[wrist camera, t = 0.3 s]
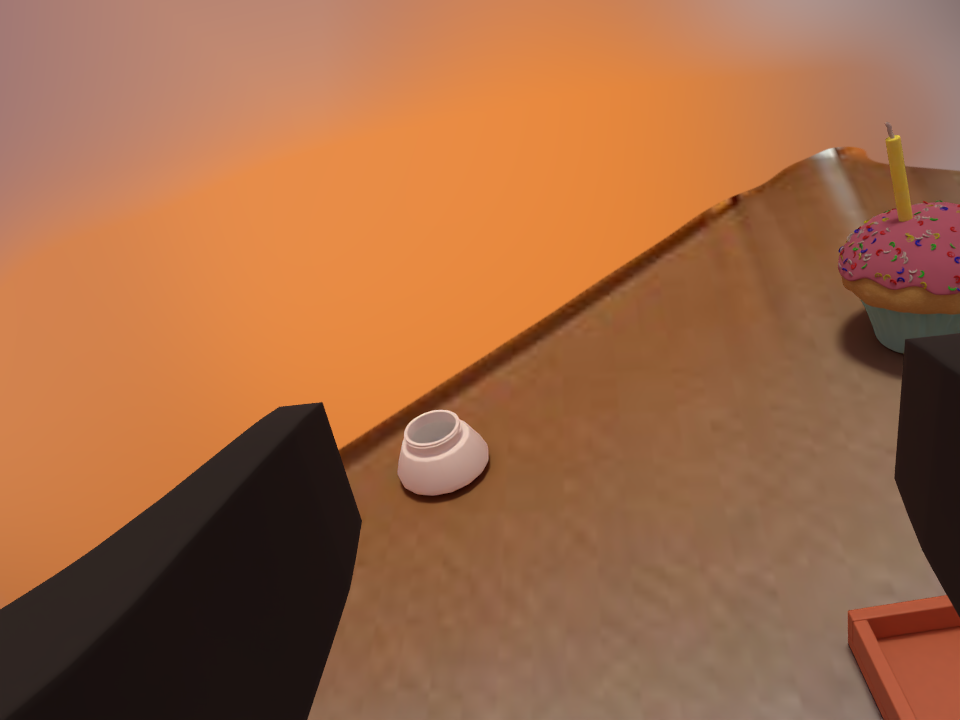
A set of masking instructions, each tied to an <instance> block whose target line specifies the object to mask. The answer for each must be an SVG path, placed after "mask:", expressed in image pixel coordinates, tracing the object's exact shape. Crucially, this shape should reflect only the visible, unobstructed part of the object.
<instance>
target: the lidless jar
mask: <svg viewBox="0 0 960 720" xmlns="http://www.w3.org/2000/svg"><path fill="white" fill-rule="evenodd" d="M488 461H489V455H488V446H487V443H486V442H485V441H484V440H483V438H482V437H481V436H480V435H479V434H478V433H477V432H476V431H475V430H474V429H472V428H471V427H470V426H469V425H468V424H467V423H466V422H465V421H462V420H460V419H459V418H458V416H457V415H456V414H455V413H453V412H451V411H447V410H435V411H430V412H427V413H424V414H422V415H420V416H418V417H416V418H415V419H413V420H412V421H411V422H410V423H409V424H408V426H407V427H406V429H405V432H404V440H403V442H402V447H401V452H400V457H399V464H398V472H397V473H398V476H399V478H400V480H401V482H402V484H403V485H404V487H405V488H406V489H408V490H410V491H412V492H414V493H416V494H421V495H431V496H434V495H440V494H445V493H450V492H453V491H455V490H457V489H459V488H462V487H464V486H466V485H468V484H470V483H471V482H472V481H473V480H474V479H475V478H476V477H478V476H479V475H480V474H481V473H482V472H483V470H484V468H485V466H486V464H487V462H488Z"/></svg>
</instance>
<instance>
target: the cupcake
mask: <svg viewBox="0 0 960 720" xmlns="http://www.w3.org/2000/svg"><path fill="white" fill-rule="evenodd" d="M885 125H886V126H887V131H888V134H889V137H888V138H887V139H886V147H887V153H888V159H889V165H890V171H891V177H892V183H893V189H894V195H895V201H896V207H897V209H892V210H891V211H890V210H888V211H886V212H884V213H882V214H880V215H877V216H874V217H873V218H872V219H871V220H866V221H864V223H866V224H865V225H863V226H862V227H861V226H860V227H859V228H858V229H857V230H855V231H854V232H855V233H854V234H853V233H851V234H850V235H849V236H848V237H847V241H846V243H845V245H844V247H841V248H840V249H839V252H840V256H839V262H838V269H839V272H840V274H841V276H842V282H843V285H844V286H845V288H847V289H848V290H850V291H852V292H853V293H854V294H855V295H856V296H857V297H859V298H860V299H861V301H862V303H863V305H864V307H865V309H866V311H867V313H868V316H869V318H870V321H871V323H872V326H873V329H874V332H875V335H876V337H877V339H878V340H879V341H880V343H882V344H883V345H884V346H886V347H887V348H889V349H891V350H893V351H896V352H899V353H902V354H904V348H905V339H910V338H920V337H929V336H938V335H947V334H957V333H960V205H958V204H953V203H947V202H942V201H936V202H935V203H927V202H925V201H923V202H924V204H921V203H919V204H914V205H911V202H910V196H909V189H908V183H907V177H906V170H905V164H904V158H903V151H902V145H901V139H900V136H897V135H895V136H894V134H893V132H892V127H891V124H890V123H889V122H886V123H885Z"/></svg>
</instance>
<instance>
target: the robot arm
mask: <svg viewBox="0 0 960 720" xmlns="http://www.w3.org/2000/svg"><path fill="white" fill-rule="evenodd" d="M895 481H896V484H897V486H898V489H899V492H900V494H901V497H902V500H903V503H904V505H905V508H906V511H907V513H908V516H909V519H910V521H911V523H912V526H913V528H914V531H915V533H916V536H917V538H918V541H919V543H920V546H921V548H922V551H923V552H924V554H925V556H926V558H927V560H928V562H929V564H930V565H931V567H932V569H933V571H934V573H935V574H936V576H937V578H938V580H939V582H940V583H941V585H942V587H943V589H944V591H945V592H946V594H947V596H948V598H949V600H950V601H951V603H952V605H953V607H954V609H955V610H956V612H957V614H958V616H959V617H960V333H957V334H947V335H938V336H929V337H920V338H910V339H905V348H904V361H903V374H902V387H901V400H900V413H899V426H898V439H897V452H896V465H895ZM361 523H362V520H361V517H360V514H359V511H358V508H357V505H356V502H355V499H354V496H353V493H352V490H351V487H350V484H349V481H348V478H347V475H346V472H345V469H344V466H343V463H342V460H341V457H340V454H339V451H338V448H337V445H336V442H335V439H334V436H333V433H332V430H331V427H330V424H329V421H328V418H327V415H326V412H325V409H324V406H323V403H322V402H321V403H312V404H302V405H293V406H283V407H279V408H277V409H276V410H274V411H272V412H271V413H269V414H268V415H266V416H265V417H263V418H262V419H261V420H259V421H258V422H257V423H255V424H254V425H253V426H251V427H250V428H249V429H247V430H246V431H245V432H244V433H243V434H241V435H240V436H239V437H237V438H236V439H235V440H233V441H232V442H231V443H230V444H228V445H227V446H226V447H225V448H224V449H222V450H221V451H220V452H219V453H217V454H216V455H215V456H214V457H213V458H211V459H210V460H209V461H207V462H206V463H205V464H204V465H202V466H201V467H200V468H199V469H197V470H196V471H195V472H194V473H192V474H191V475H190V476H189V477H187V478H186V479H185V480H184V481H182V482H181V483H180V484H179V485H177V486H176V487H175V488H174V489H173V490H172V491H170V492H169V493H167V494H166V495H165V496H164V497H162V498H161V499H160V500H159V501H157V502H156V503H154V504H153V505H152V506H150V507H149V508H148V509H146V510H145V511H144V512H142V513H141V514H140V515H138V516H137V517H136V518H134V519H133V520H132V521H130V522H129V523H128V524H126V525H125V526H124V527H122V528H121V529H120V530H118V531H117V532H116V533H114V534H113V535H112V536H110V537H109V538H108V539H106V540H105V541H103V542H102V543H101V544H100V545H98V546H97V547H95V548H94V549H93V550H91V551H90V552H88V553H87V554H85V555H84V556H82V557H81V558H80V559H78V560H77V561H75V562H74V563H72V564H71V565H69V566H68V567H66V568H65V569H63V570H62V571H60V572H59V573H57V574H56V575H54V576H53V577H51V578H50V579H48V580H47V581H45V582H43V583H42V584H40V585H39V586H37V587H35V588H34V589H32V590H31V591H29V592H28V593H26V594H24V595H23V596H21V597H20V598H18V599H16V600H15V601H13V602H12V603H10V604H8V605H7V606H5V607H3V608H2V609H0V720H307V719H308V715H309V712H310V709H311V706H312V703H313V700H314V697H315V694H316V691H317V688H318V685H319V682H320V679H321V676H322V673H323V670H324V667H325V664H326V661H327V658H328V655H329V652H330V649H331V646H332V643H333V640H334V637H335V634H336V631H337V628H338V625H339V622H340V618H341V615H342V612H343V609H344V606H345V603H346V600H347V596H348V593H349V590H350V586H351V580H352V575H353V570H354V565H355V560H356V554H357V548H358V542H359V536H360V529H361Z"/></svg>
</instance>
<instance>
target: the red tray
mask: <svg viewBox="0 0 960 720" xmlns="http://www.w3.org/2000/svg"><path fill="white" fill-rule="evenodd" d="M848 643H849V646H850V648H851V650H852V652H853V654H854V656H855V658H856V661H857V663H858V665H859V667H860V669H861V671H862V674H863V676H864V678H865V680H866V682H867V684H868V686H869V689H870V691H871V693H872V695H873V697H874V699H875V702H876V704H877V706H878V708H879V710H880V712H881V714H882V717H883V719H884V720H960V617H959V616H958V614H957V612H956V610H955V609H954V607H953V605H952V603H951V601H950V600H949V598H948V596H947V595H945V596H939V597H932V598H926V599H920V600H913V601H907V602H900V603H894V604H887V605H881V606H875V607H868V608H862V609H855V610H849V611H848Z"/></svg>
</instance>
